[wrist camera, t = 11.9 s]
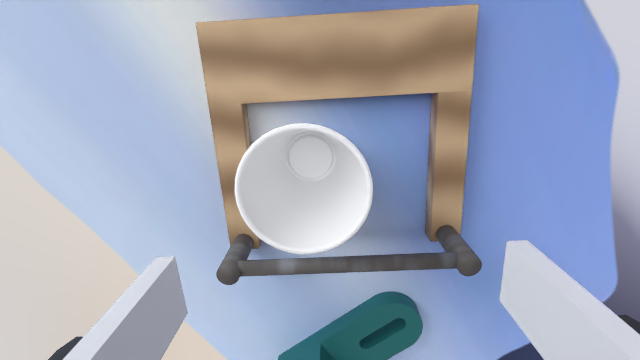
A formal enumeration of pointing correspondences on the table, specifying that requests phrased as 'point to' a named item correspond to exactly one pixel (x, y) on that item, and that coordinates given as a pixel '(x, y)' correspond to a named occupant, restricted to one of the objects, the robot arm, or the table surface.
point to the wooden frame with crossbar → (345, 82)
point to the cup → (303, 188)
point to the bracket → (364, 332)
